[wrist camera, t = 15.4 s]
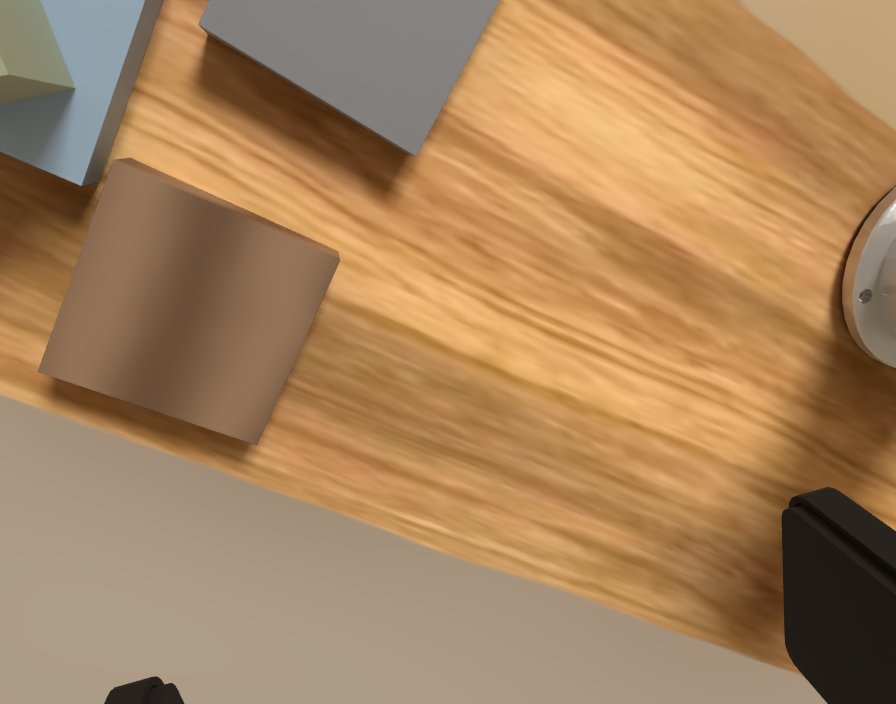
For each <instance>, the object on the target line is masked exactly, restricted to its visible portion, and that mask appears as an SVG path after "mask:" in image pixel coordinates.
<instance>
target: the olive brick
mask: <svg viewBox="0 0 896 704" xmlns="http://www.w3.org/2000/svg"><path fill="white" fill-rule="evenodd" d="M71 89H75V85H74V83H73V80H72V78H71V75H70V73H69V70H68V68H67V65H66V63H65V60H64V58H63V55H62V53H61V50H60V48H59V45H58V43H57V40H56V38H55V35H54V33H53V30H52V28H51V25H50V23H49V20H48V18H47V15H46V13H45V10H44V8H43V5H42V3H41V0H0V105H3V104H8V103H12V102H17V101H21V100H26V99H30V98H35V97H39V96H44V95H48V94H53V93H57V92H62V91H66V90H71Z"/></svg>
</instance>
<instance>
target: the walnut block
mask: <svg viewBox="0 0 896 704" xmlns="http://www.w3.org/2000/svg"><path fill="white" fill-rule="evenodd" d="M339 262H340V258H339V254H338V251H336V250H334V249H332V248H330V247H328V246H325V245H323V244H321V243H319V242H316V241H314V240H312V239H310V238H308V237H305V236H303V235H301V234H299V233H296V232H294V231H292V230H290V229H288V228H285V227H283V226H281V225H279V224H276V223H274V222H272V221H270V220H267V219H265V218H263V217H261V216H259V215H256V214H254V213H252V212H250V211H247V210H245V209H243V208H241V207H239V206H236V205H234V204H232V203H230V202H227V201H225V200H223V199H221V198H219V197H216V196H214V195H212V194H210V193H207V192H205V191H203V190H201V189H198V188H196V187H194V186H192V185H190V184H187V183H185V182H183V181H181V180H178V179H176V178H174V177H172V176H170V175H167V174H165V173H163V172H161V171H158V170H156V169H154V168H152V167H150V166H147V165H145V164H143V163H141V162H138V161H136V160H134V159H132V158H125V159H117V160H113V162H112V165H111V168H110V171H109V173H108V176H107V179H106V182H105V185H104V187H103V190H102V193H101V196H100V199H99V201H98V204H97V207H96V210H95V213H94V215H93V218H92V221H91V224H90V227H89V230H88V232H87V235H86V238H85V241H84V244H83V246H82V249H81V252H80V255H79V258H78V260H77V263H76V266H75V269H74V272H73V274H72V277H71V280H70V283H69V286H68V288H67V291H66V294H65V297H64V300H63V302H62V305H61V308H60V311H59V314H58V316H57V319H56V322H55V325H54V328H53V330H52V333H51V336H50V339H49V342H48V345H47V347H46V350H45V353H44V356H43V359H42V361H41V364H40V367H39V370H38V372H40V373H43V374H46V375H49V376H52V377H55V378H58V379H60V380H63V381H66V382H69V383H72V384H75V385H78V386H81V387H84V388H87V389H90V390H93V391H96V392H99V393H102V394H105V395H108V396H111V397H114V398H117V399H120V400H123V401H126V402H129V403H132V404H135V405H138V406H141V407H144V408H147V409H150V410H153V411H156V412H159V413H162V414H165V415H168V416H171V417H174V418H177V419H180V420H183V421H186V422H189V423H192V424H195V425H198V426H201V427H204V428H207V429H210V430H213V431H216V432H219V433H222V434H225V435H228V436H231V437H234V438H237V439H240V440H243V441H246V442H249V443H252V444H255V445H257V444H258V442H259V440H260V438H261V436H262V433H263V431H264V429H265V427H266V424H267V422H268V420H269V418H270V416H271V413H272V411H273V409H274V407H275V404H276V402H277V400H278V398H279V395H280V393H281V391H282V389H283V387H284V384H285V382H286V380H287V378H288V375H289V373H290V371H291V369H292V367H293V364H294V362H295V360H296V358H297V355H298V353H299V351H300V349H301V346H302V344H303V342H304V340H305V338H306V335H307V333H308V331H309V329H310V326H311V324H312V322H313V320H314V318H315V315H316V313H317V311H318V309H319V306H320V304H321V302H322V300H323V297H324V295H325V293H326V291H327V289H328V286H329V284H330V282H331V280H332V277H333V275H334V273H335V271H336V269H337V266H338V264H339Z"/></svg>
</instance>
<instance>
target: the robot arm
mask: <svg viewBox="0 0 896 704" xmlns="http://www.w3.org/2000/svg"><path fill="white" fill-rule="evenodd" d="M842 305H843V311H844V318H845V321H846V324H847V326H848V329H849V332H850V334H851V336H852V337H853V339H854V340H855V342H856V343H857V345H858V346H859V347H860V348H861V349H862V350H863V351H864V352H865V353H866V354H868V355H869V356H870V357H871V358H873V359H875V360H877V361H879V362H881V363H884V364H886V365H889V366H891V367H894V368H896V187H895V188H894V189H893V190H892V191H891V192H890V193H889V194H888V195H887V196H886V197H885V198H884V199H883V200H882V201H881V202H880V203H879V204H878V205H877V206H876V208H875V209H874V210H873V212H872V213H871V214H870V216H869V217H868V218H867V220H866V221H865V223H864V224H863V226H862V228H861V230H860V232H859V234H858V235H857V237H856V239H855V241H854V244H853V246H852V249H851V252H850V254H849V257H848V260H847V263H846V268H845V273H844V278H843V286H842ZM782 548H783V588H784V628H785V645H786V648H787V651H788V654H789V656H790V658H791V660H792V661H793V663H794V665H795V666H796V667H797V669H798V670H799V671H800V672H801V673H802V674H803V676H804V677H805V678H806V679H807V680H808V681H809V682H810V684H811V685H812V686H813V687H814V688H815V689H816V691H817V692H818V693H819V694H820V695H821V696H822V698H823V699H824V700H825V701H826V702H827V703H828V704H896V531H895V530H893V529H892V528H890V527H889V526H888V525H886V524H885V523H883V522H882V521H880V520H879V519H878V518H876V517H875V516H873V515H872V514H871V513H869V512H868V511H866V510H865V509H864V508H862V507H861V506H859V505H858V504H856V503H855V502H854V501H852V500H851V499H849V498H848V497H847V496H845V495H844V494H842V493H841V492H839V491H838V490H836V489H834V488H829V487H826V488H823V489H819V490H816V491H812V492H809V493H805V494H802V495H798V496H795V497H793V498H792V499H791V500H790V502H789V508H788V509H786V510H784V511H783V513H782ZM104 704H184V702H183V700H182V698H181V696H180V694H179V691H178V689H177V688H176V686H175V685H174V684H173V683H169V684H165V685H164V683H163V682H162V680H161V679H160V678H158V677H150V678H147V679H143V680H140V681H136V682H133V683H129V684H126V685H122V686H118V687H115V688H114V689H113V690H111V691H110V693H109V695H108V697H107V699H106V701H105V703H104Z"/></svg>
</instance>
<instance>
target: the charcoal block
mask: <svg viewBox="0 0 896 704" xmlns="http://www.w3.org/2000/svg"><path fill="white" fill-rule="evenodd" d="M499 1H500V0H209V1H208V4H207V6H206V8H205V10H204V13H203V15H202V17H201V19H200V22H199V24H198V25H199V26H200V27H201V28H202V29H203V30H204V31H205V32H206V33H207V34H209V35H210V36H212V37H214V38H215V39H217V40H218V41H220V42H222V43H223V44H225V45H227V46H228V47H230V48H232V49H233V50H235V51H237V52H238V53H240V54H242V55H243V56H245V57H247V58H248V59H250V60H252V61H253V62H255V63H257V64H258V65H260V66H262V67H263V68H265V69H267V70H268V71H270V72H272V73H273V74H275V75H277V76H278V77H280V78H282V79H283V80H285V81H287V82H288V83H290V84H292V85H293V86H295V87H297V88H298V89H300V90H302V91H303V92H305V93H306V94H308V95H310V96H311V97H313V98H315V99H316V100H318V101H320V102H321V103H323V104H325V105H326V106H328V107H330V108H331V109H333V110H335V111H336V112H338V113H340V114H341V115H343V116H345V117H346V118H348V119H350V120H351V121H353V122H355V123H356V124H358V125H360V126H361V127H363V128H365V129H366V130H368V131H370V132H371V133H373V134H375V135H376V136H378V137H380V138H381V139H383V140H385V141H386V142H388V143H390V144H391V145H393V146H395V147H396V148H398V149H399V150H401V151H403V152H404V153H406V154H408V155H412V156H416V155H417V154H418V152H419V150H420V148H421V146H422V144H423V142H424V141H425V139H426V137H427V135H428V133H429V131H430V129H431V127H432V126H433V124H434V122H435V120H436V118H437V116H438V114H439V113H440V111H441V109H442V107H443V105H444V103H445V101H446V99H447V98H448V96H449V94H450V92H451V90H452V88H453V86H454V85H455V83H456V81H457V79H458V77H459V75H460V73H461V71H462V70H463V68H464V66H465V64H466V62H467V60H468V58H469V57H470V55H471V53H472V51H473V49H474V47H475V45H476V43H477V42H478V40H479V38H480V36H481V34H482V32H483V30H484V29H485V27H486V25H487V23H488V21H489V19H490V17H491V15H492V14H493V12H494V10H495V8H496V6H497V4H498V2H499Z"/></svg>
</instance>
